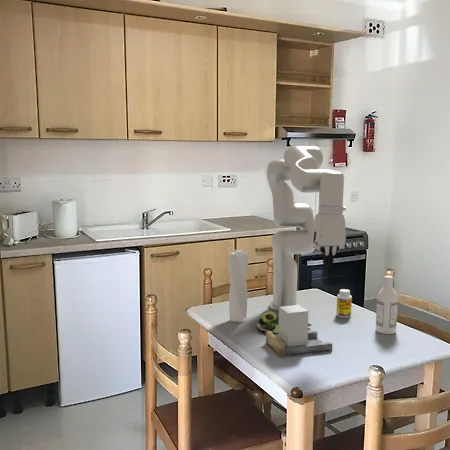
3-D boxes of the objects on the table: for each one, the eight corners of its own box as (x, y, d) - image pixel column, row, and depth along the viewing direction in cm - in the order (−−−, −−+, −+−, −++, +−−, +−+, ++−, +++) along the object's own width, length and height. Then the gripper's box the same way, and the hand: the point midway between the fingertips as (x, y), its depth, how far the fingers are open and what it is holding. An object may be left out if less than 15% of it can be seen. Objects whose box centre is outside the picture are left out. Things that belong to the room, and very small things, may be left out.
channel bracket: (265, 342, 167) (266, 331, 166) (315, 337, 172) (315, 326, 171) (279, 357, 155) (280, 344, 155) (332, 351, 160) (332, 339, 160)
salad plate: (312, 322, 188) (312, 310, 188) (310, 339, 171) (310, 326, 170) (261, 318, 192) (261, 306, 192) (254, 334, 175) (254, 322, 174)
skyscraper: (225, 321, 187) (226, 248, 183) (228, 315, 194) (229, 244, 190) (246, 323, 186) (247, 248, 181) (248, 316, 193) (250, 245, 189)
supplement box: (308, 349, 160) (309, 311, 158) (286, 351, 158) (287, 313, 156) (298, 340, 167) (299, 304, 165) (277, 343, 165) (278, 306, 163)
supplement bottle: (337, 318, 192) (338, 292, 191) (335, 313, 198) (336, 288, 196) (351, 318, 191) (353, 292, 190) (350, 314, 197) (351, 288, 195)
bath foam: (396, 329, 180) (399, 275, 177) (395, 335, 174) (399, 279, 171) (376, 327, 182) (378, 273, 180) (374, 333, 176) (377, 278, 173)
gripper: (345, 208, 165) (342, 262, 168) (303, 209, 161) (301, 265, 164) (357, 211, 158) (354, 268, 161) (314, 212, 154) (312, 270, 157)
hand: (328, 266), depth 163 cm, fingers closed
